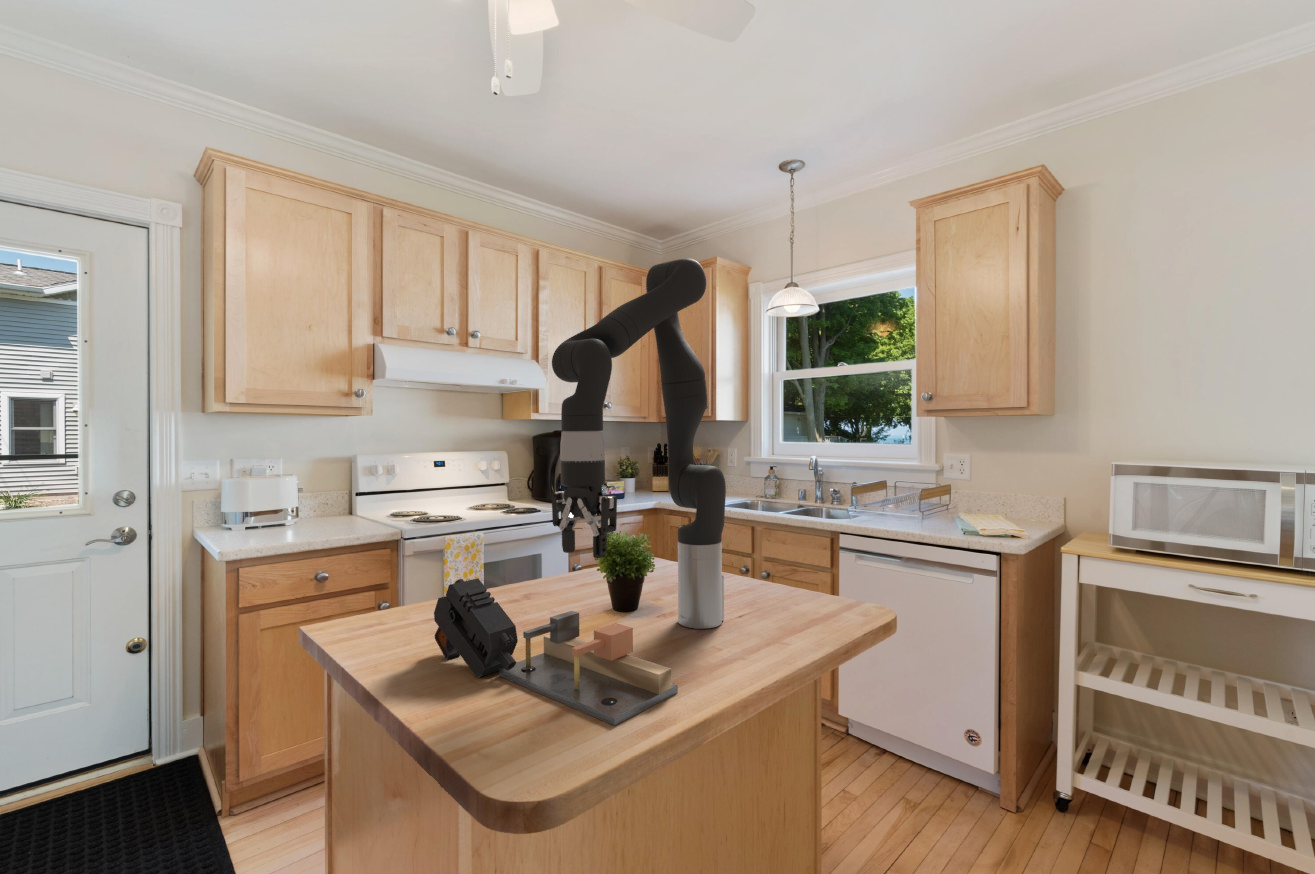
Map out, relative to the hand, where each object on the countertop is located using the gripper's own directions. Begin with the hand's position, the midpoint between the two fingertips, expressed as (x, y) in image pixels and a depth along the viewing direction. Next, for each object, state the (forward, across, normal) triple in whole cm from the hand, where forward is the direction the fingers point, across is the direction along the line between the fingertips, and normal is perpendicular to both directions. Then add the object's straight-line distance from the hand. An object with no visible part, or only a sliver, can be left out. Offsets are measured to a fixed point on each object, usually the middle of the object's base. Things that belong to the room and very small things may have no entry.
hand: (583, 554), depth 106 cm
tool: (+20, +16, +11) cm, 28 cm away
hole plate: (+20, -4, +4) cm, 21 cm away
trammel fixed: (+19, -5, +3) cm, 19 cm away
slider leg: (+18, -7, +3) cm, 20 cm away
